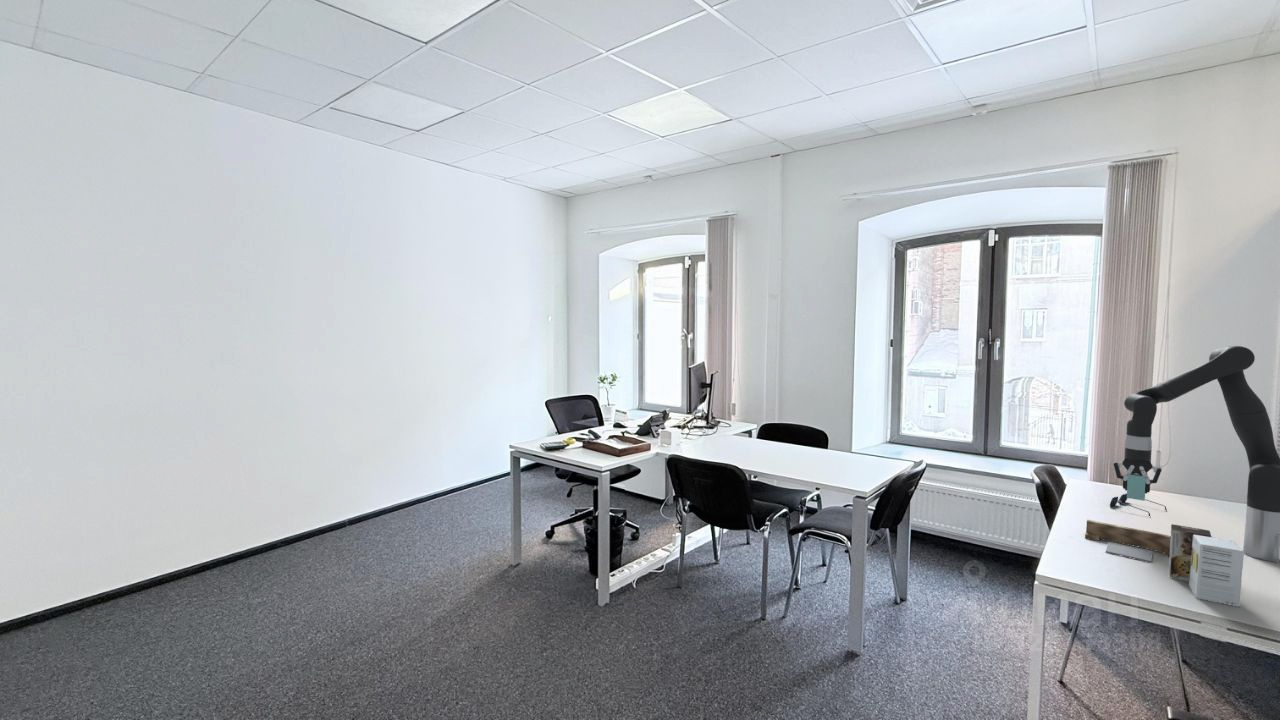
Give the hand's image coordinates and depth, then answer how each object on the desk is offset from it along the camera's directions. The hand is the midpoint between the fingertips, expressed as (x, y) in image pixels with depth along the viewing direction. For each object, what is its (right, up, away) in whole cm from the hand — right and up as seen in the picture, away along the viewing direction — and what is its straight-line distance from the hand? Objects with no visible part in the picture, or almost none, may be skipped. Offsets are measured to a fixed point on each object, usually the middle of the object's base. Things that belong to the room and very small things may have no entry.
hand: (1135, 491), depth 209 cm
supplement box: (-17, -21, -44) cm, 52 cm away
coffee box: (-12, -20, -32) cm, 40 cm away
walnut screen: (-6, -19, -5) cm, 20 cm away
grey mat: (-13, -19, -12) cm, 26 cm away
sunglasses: (+32, -17, +35) cm, 50 cm away
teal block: (0, -2, 0) cm, 2 cm away
